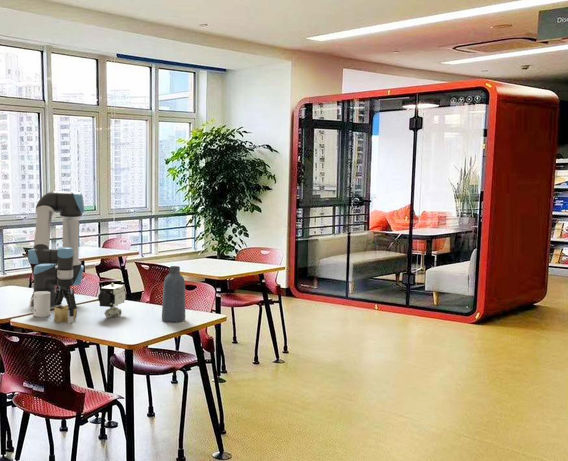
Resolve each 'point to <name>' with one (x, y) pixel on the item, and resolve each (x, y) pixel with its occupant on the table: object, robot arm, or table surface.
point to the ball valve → (112, 299)
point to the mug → (41, 304)
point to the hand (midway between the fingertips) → (64, 320)
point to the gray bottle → (174, 297)
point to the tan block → (62, 313)
